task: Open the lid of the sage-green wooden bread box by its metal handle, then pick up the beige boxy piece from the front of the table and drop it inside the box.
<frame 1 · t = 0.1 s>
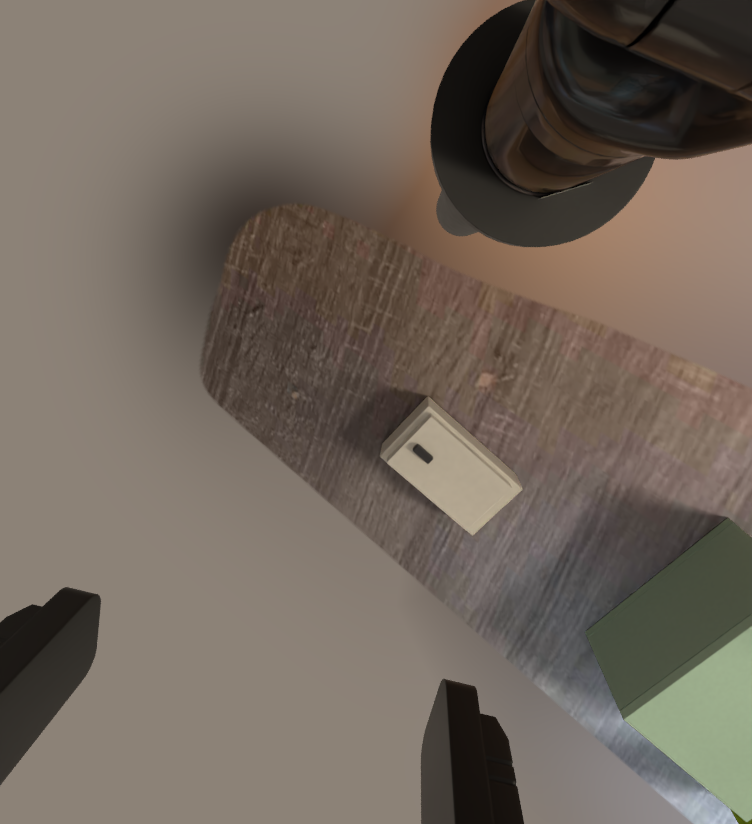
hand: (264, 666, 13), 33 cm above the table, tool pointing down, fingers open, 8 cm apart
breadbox: (706, 624, 48), on the table
beige boxy piece: (449, 459, 46), on the table
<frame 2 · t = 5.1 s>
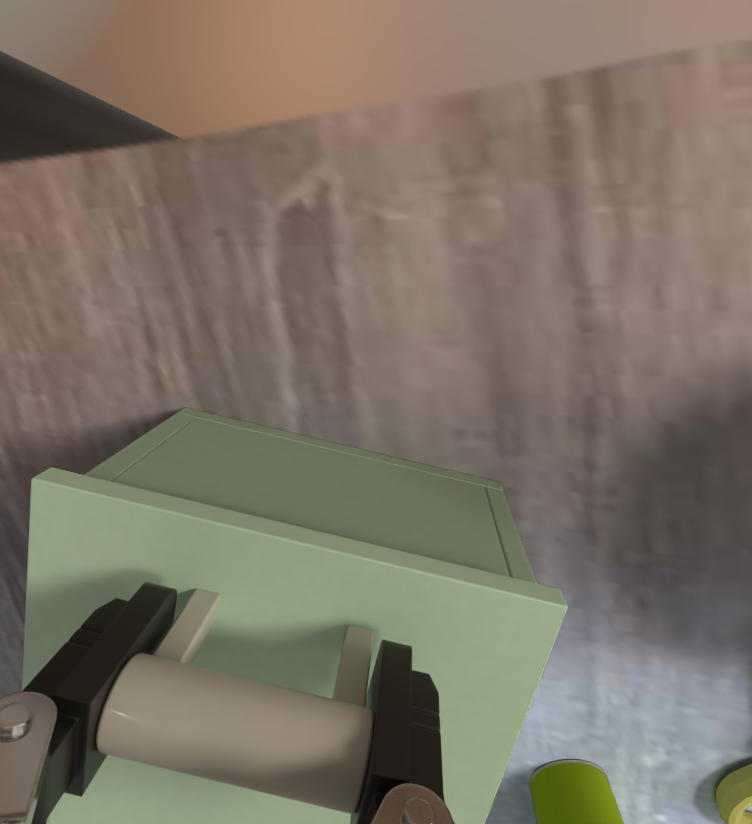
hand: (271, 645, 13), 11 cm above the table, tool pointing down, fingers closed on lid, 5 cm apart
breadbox: (308, 600, 25), on the table
vape: (570, 800, 28), on the table
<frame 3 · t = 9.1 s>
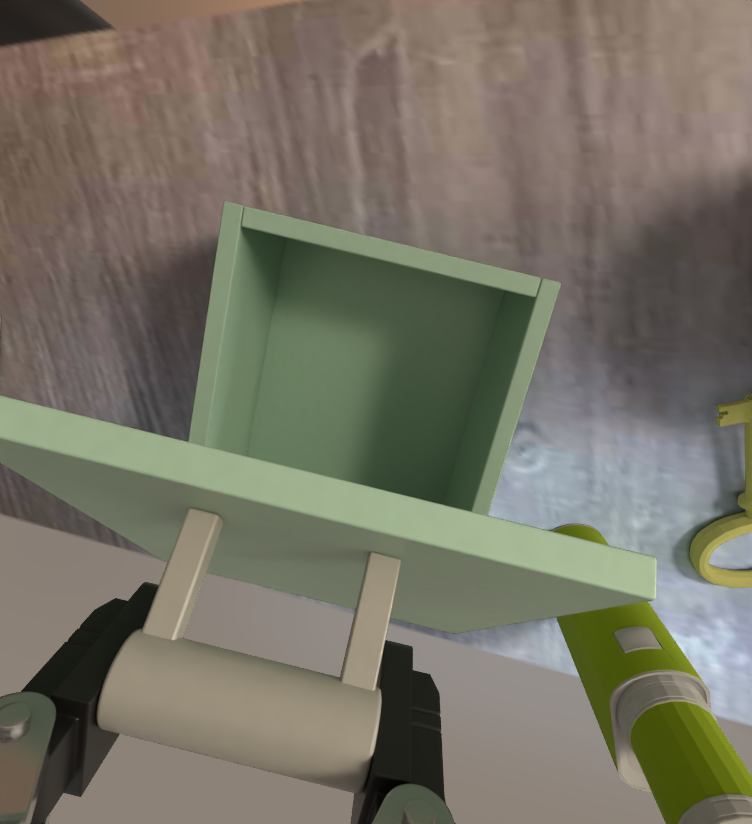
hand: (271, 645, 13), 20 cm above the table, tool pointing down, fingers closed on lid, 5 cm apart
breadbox: (367, 385, 32), on the table
key: (744, 493, 32), on the table
vape: (573, 564, 34), on the table
lid: (287, 630, 17), point 17 cm above the table, hinge at 50.3°, touching gripper
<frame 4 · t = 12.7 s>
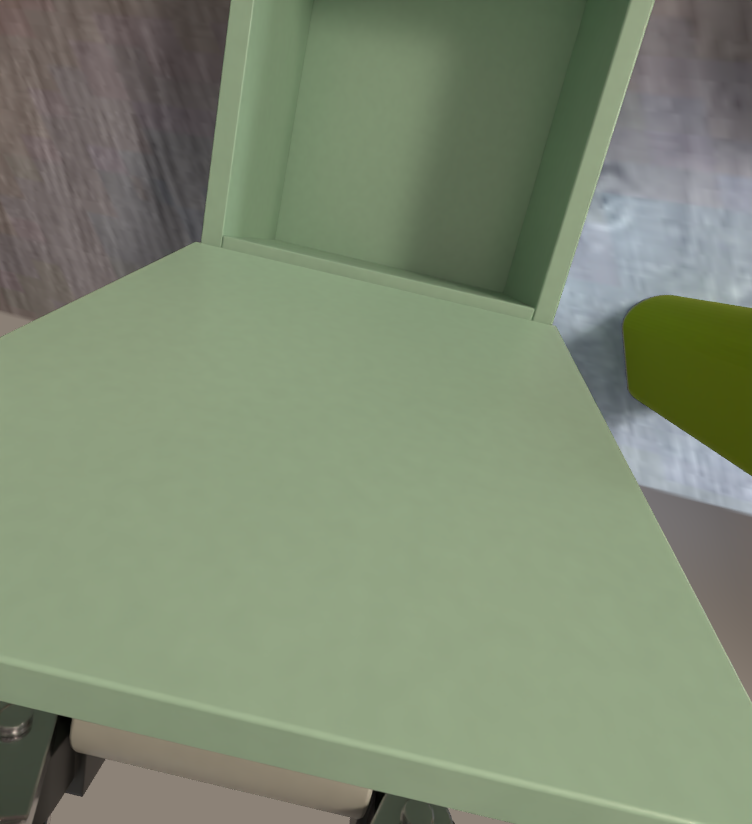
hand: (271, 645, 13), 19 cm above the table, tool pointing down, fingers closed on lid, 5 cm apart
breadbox: (421, 121, 27), on the table
vape: (659, 348, 29), on the table
lid: (318, 463, 14), point 17 cm above the table, hinge at 102.1°, touching gripper
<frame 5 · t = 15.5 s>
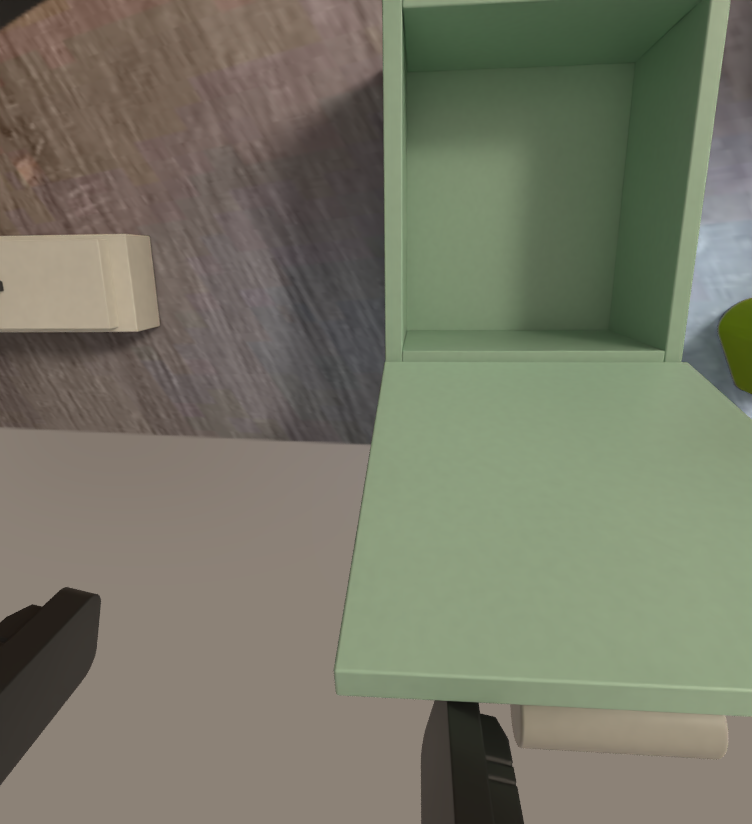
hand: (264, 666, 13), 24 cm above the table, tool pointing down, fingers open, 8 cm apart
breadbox: (510, 208, 32), on the table
beige boxy piece: (80, 282, 35), on the table
lid: (567, 520, 19), point 17 cm above the table, hinge at 102.0°
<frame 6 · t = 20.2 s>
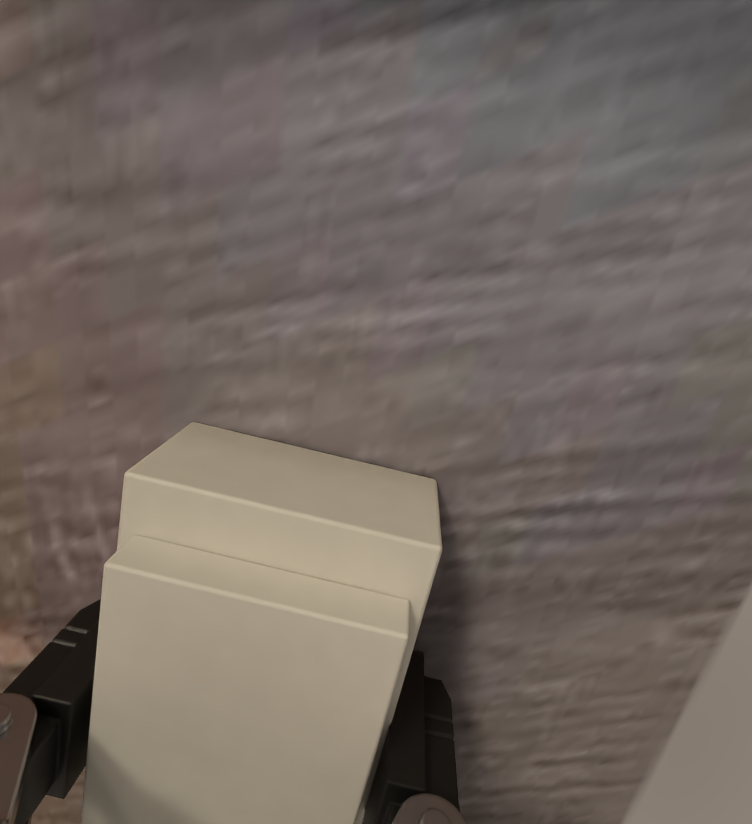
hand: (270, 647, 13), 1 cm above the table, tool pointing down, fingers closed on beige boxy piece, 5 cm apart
beige boxy piece: (277, 633, 14), on the table, touching gripper
when the fingers open (7 cm above the table, at t = 30.1 s): beige boxy piece drops 6 cm, resting on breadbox.
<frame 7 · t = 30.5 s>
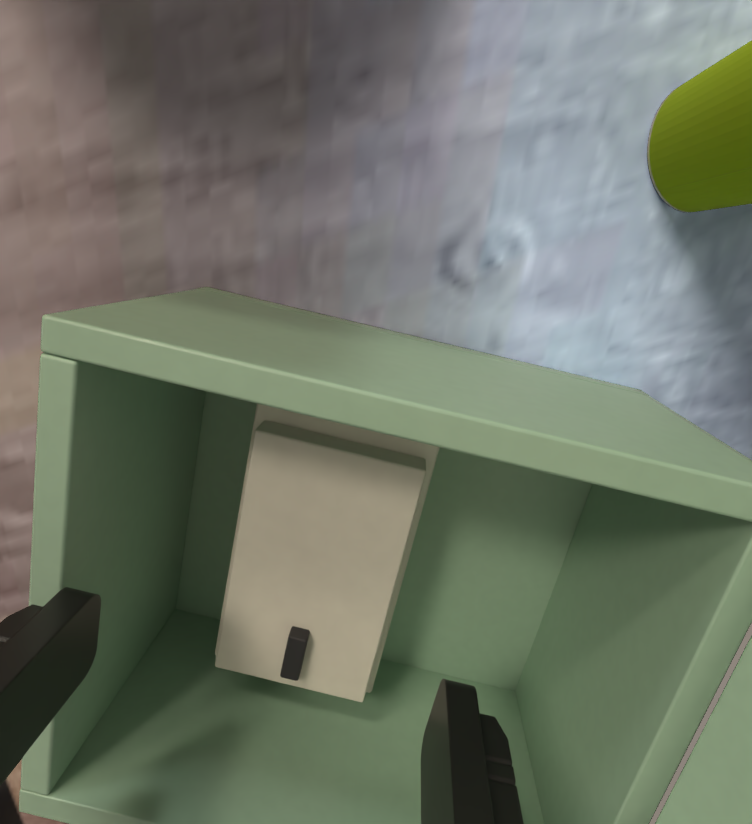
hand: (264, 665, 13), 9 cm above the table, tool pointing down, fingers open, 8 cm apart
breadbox: (379, 509, 21), on the table
beige boxy piece: (333, 508, 20), point 1 cm above the table, touching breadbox
vape: (740, 138, 17), on the table
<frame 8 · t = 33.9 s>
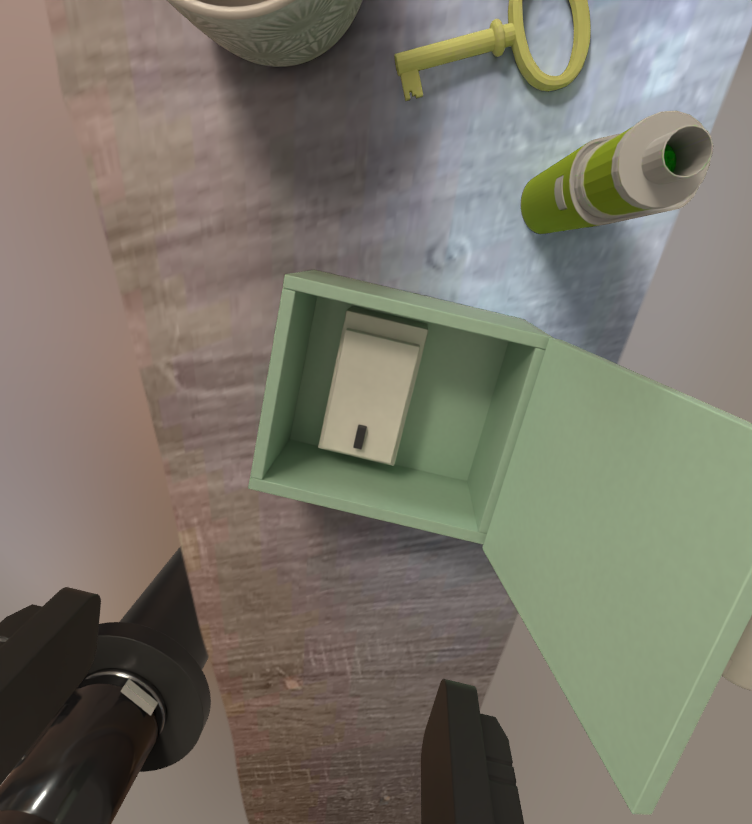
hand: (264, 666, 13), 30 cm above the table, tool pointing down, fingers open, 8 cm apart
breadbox: (396, 384, 41), on the table
beige boxy piece: (374, 381, 41), point 1 cm above the table, touching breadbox
key: (495, 46, 35), on the table
vape: (562, 200, 37), on the table
lid: (630, 527, 25), point 17 cm above the table, hinge at 102.0°
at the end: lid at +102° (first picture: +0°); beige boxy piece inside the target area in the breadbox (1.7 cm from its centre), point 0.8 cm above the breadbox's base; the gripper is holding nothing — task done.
